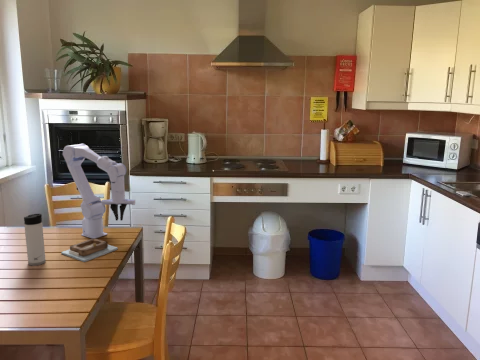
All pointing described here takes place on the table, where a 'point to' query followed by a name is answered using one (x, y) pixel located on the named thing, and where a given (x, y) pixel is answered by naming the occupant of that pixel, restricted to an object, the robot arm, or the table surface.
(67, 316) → the table surface
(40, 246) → the travel mug
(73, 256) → the wall board
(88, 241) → the frame
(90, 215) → the robot arm
